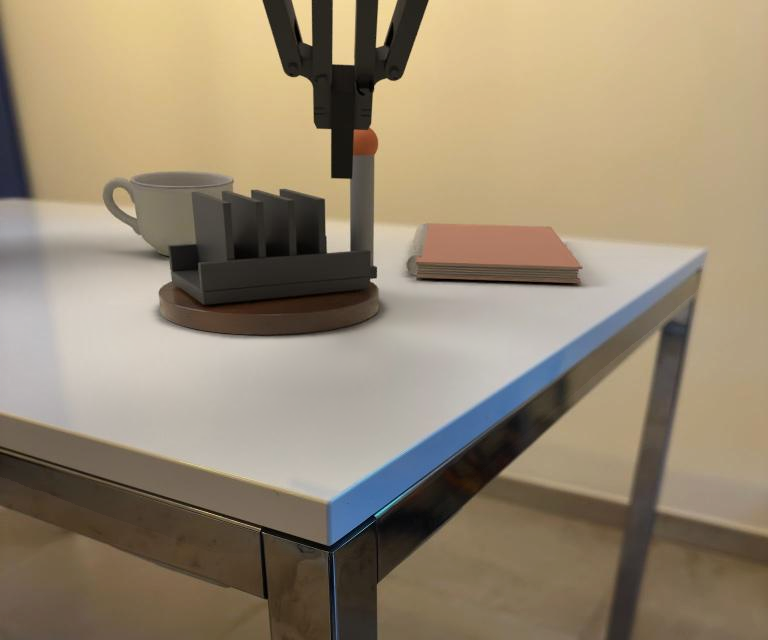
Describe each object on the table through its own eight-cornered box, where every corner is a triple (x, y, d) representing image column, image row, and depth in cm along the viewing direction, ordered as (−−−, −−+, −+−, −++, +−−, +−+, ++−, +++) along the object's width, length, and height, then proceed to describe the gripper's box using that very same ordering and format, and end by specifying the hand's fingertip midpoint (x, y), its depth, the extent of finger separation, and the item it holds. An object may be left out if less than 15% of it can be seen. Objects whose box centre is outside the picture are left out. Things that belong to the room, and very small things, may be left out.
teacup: (251, 247, 91) (247, 172, 87) (218, 264, 81) (211, 181, 77) (139, 242, 93) (130, 169, 89) (93, 258, 83) (81, 176, 79)
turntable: (112, 311, 63) (110, 292, 62) (261, 276, 76) (260, 260, 76) (285, 348, 54) (284, 327, 54) (418, 301, 68) (419, 284, 67)
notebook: (416, 237, 100) (416, 220, 99) (549, 241, 99) (551, 224, 98) (404, 279, 76) (405, 258, 75) (579, 285, 75) (582, 264, 74)
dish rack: (203, 305, 58) (187, 127, 52) (171, 282, 65) (154, 123, 59) (400, 286, 65) (404, 127, 60) (352, 267, 72) (351, 123, 67)
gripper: (192, -266, 32) (245, 200, 53) (505, -244, 33) (436, 205, 54) (205, -338, 35) (250, 126, 56) (488, -316, 36) (429, 133, 57)
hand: (341, 165), depth 55 cm, fingers closed
